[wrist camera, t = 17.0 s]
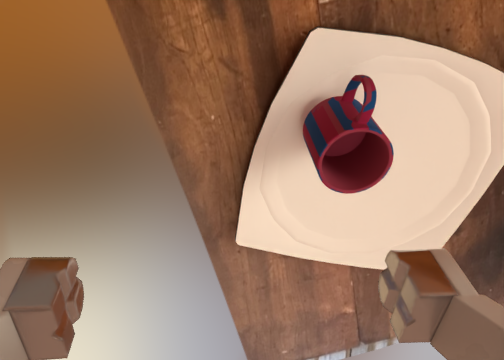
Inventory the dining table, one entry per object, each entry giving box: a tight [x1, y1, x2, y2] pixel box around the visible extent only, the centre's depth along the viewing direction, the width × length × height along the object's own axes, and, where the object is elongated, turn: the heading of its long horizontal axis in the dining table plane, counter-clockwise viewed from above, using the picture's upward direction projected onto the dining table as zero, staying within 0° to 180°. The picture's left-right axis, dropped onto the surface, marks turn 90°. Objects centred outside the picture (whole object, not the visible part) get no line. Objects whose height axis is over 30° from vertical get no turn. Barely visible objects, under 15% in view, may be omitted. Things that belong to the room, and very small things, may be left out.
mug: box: [303, 75, 394, 194], centre depth 37 cm, size 7×10×7 cm
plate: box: [235, 26, 504, 270], centre depth 46 cm, size 29×29×3 cm
